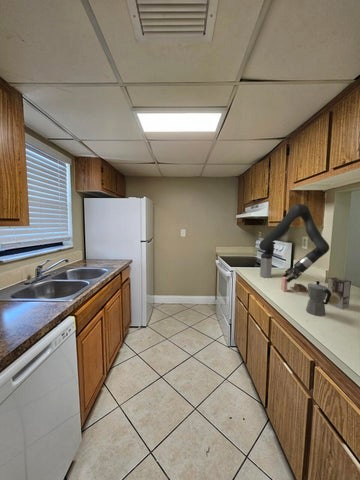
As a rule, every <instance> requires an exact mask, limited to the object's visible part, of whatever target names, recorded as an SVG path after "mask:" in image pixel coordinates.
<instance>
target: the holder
mask: <svg viewBox="0 0 360 480" xmlns="http://www.w3.org/2000/svg"><path fill="white" fill-rule="evenodd" d="M289 288H290V289H292V290H293V291H294V292H295V293H302V294H308V286H305V285H304V284H301V283H296V282H295V283H294V284H293V286H289Z"/></svg>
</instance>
